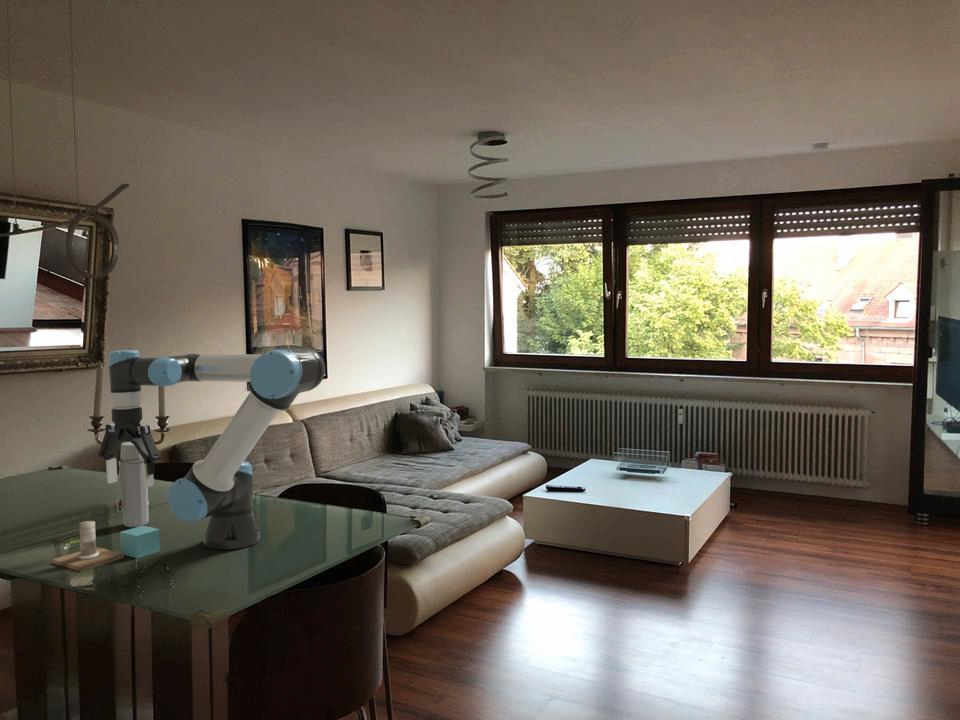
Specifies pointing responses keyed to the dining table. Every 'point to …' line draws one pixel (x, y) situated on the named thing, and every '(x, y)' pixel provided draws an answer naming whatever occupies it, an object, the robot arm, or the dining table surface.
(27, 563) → the dining table surface
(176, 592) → the dining table surface
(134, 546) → the teal block
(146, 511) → the water bottle
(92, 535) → the wooden peg stand
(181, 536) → the dining table surface
